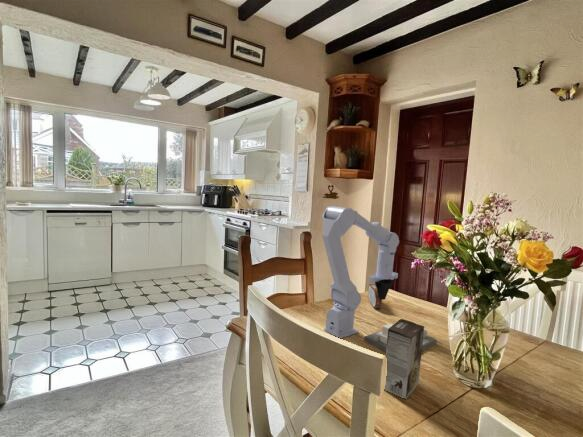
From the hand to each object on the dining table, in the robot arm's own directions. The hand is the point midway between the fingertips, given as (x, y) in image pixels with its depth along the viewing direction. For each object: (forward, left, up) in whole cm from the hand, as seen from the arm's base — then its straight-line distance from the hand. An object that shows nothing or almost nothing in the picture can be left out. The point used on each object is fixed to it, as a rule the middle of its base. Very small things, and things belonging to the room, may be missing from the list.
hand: (381, 298), depth 124 cm
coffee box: (-29, -29, -10) cm, 42 cm away
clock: (+14, +14, -10) cm, 22 cm away
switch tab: (-13, -14, -8) cm, 21 cm away
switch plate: (-7, -14, -9) cm, 18 cm away
